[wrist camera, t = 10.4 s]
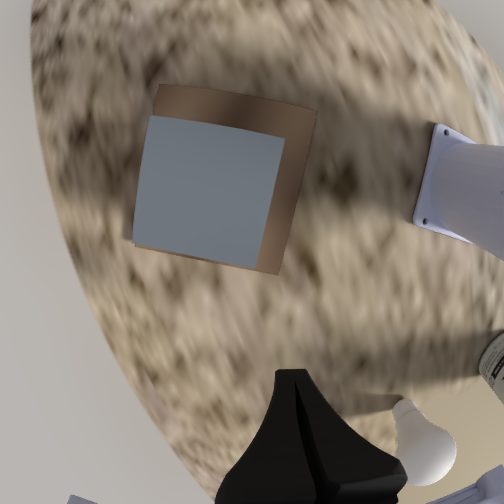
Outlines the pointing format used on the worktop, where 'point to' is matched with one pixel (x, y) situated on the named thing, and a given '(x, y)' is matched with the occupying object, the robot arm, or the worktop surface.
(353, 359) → the worktop surface
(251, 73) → the worktop surface
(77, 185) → the worktop surface
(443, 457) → the lightbulb
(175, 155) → the blue-grey block
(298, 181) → the brown base with post
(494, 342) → the spray can
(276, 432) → the robot arm
